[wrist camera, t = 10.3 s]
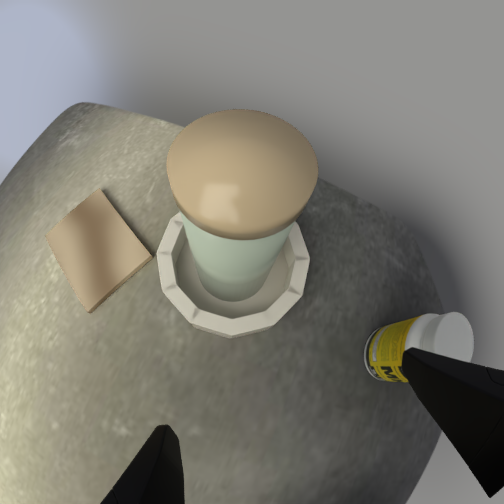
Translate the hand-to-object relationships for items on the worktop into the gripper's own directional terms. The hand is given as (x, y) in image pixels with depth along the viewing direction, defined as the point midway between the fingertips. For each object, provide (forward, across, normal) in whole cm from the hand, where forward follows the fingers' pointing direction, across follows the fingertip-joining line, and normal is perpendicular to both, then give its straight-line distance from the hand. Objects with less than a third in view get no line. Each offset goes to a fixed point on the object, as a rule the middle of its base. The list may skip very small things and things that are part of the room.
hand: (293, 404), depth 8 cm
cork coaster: (+16, +12, -5) cm, 20 cm away
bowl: (+14, +1, -1) cm, 14 cm away
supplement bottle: (+9, -9, +8) cm, 15 cm away
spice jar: (+13, +1, -1) cm, 13 cm away
